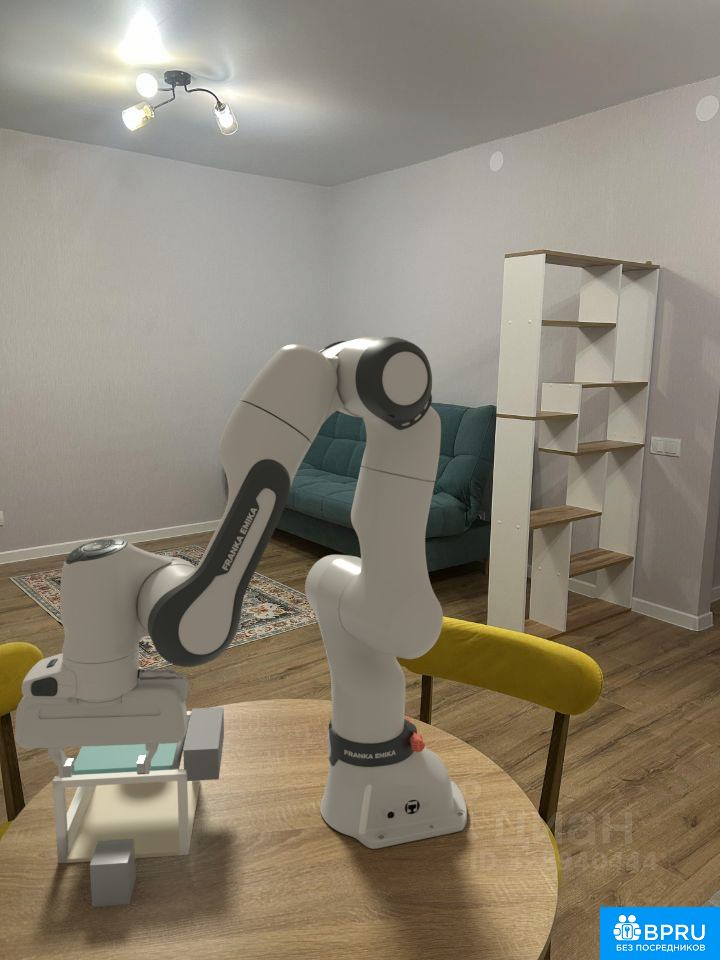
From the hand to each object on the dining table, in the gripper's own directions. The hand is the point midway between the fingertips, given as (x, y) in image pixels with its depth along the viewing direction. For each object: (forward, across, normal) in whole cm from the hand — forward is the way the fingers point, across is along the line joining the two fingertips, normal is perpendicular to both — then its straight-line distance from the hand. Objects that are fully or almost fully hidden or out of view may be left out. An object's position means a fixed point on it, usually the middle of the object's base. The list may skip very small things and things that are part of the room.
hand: (105, 773), depth 93 cm
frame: (+17, 0, -15) cm, 23 cm away
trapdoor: (+7, -3, -15) cm, 17 cm away
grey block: (+17, 0, 0) cm, 17 cm away
